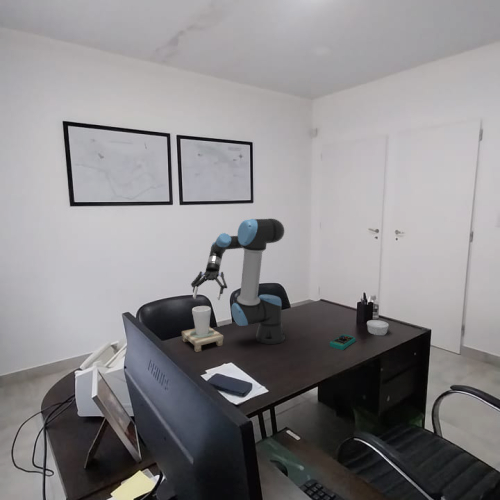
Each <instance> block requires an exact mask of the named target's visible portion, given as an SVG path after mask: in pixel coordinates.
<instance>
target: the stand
mask: <svg viewBox="0 0 500 500" xmlns="http://www.w3.org/2000/svg"><path fill="white" fill-rule="evenodd" d="M181 336H182V341H183V342H184V343H186V342H190V343H191V344H192V345H193V346H194V351H195V352H196V353H199V352H202V346H203V345H207V344H211V343H216V344H215V345H216V346H218V347H221V346H223V345H224V343H223V340H224V335H223V334H221V333H220V332H219V331H216V330H215V329H214V328H212V327H211V326H209V333H208V334H206V335H197V334H196V330H195V328H192V329H186V330H182V331H181Z"/></svg>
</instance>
